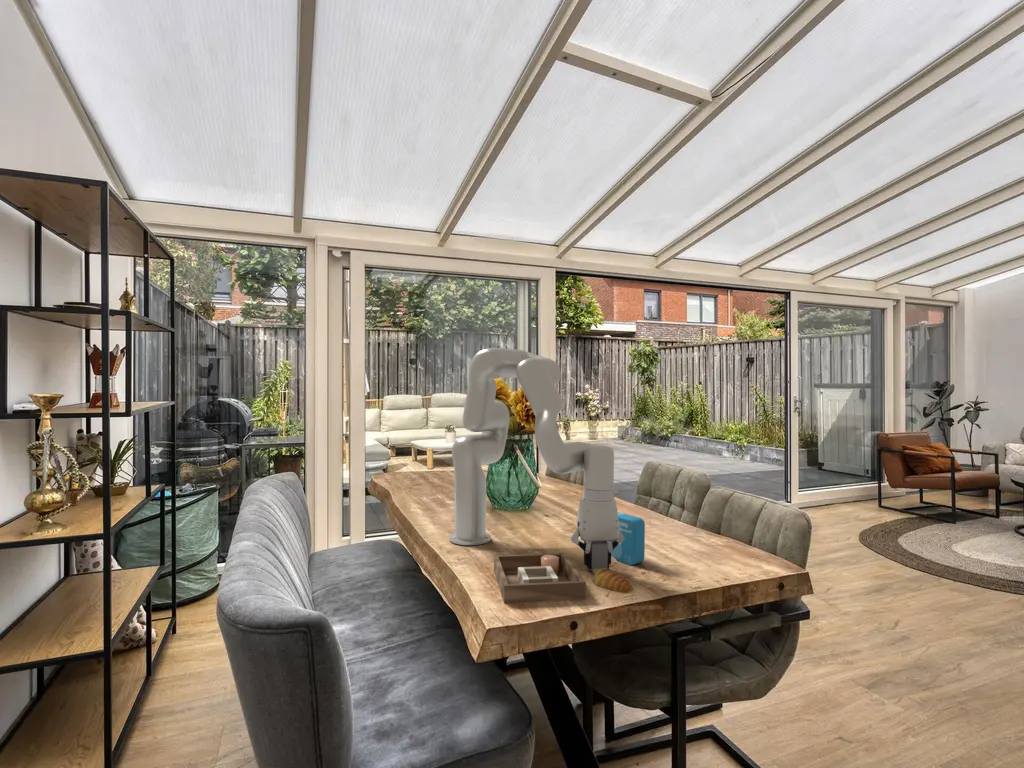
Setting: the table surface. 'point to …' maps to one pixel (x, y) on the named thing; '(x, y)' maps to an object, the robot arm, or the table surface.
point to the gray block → (599, 555)
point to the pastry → (612, 581)
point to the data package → (630, 540)
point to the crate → (537, 579)
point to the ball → (551, 562)
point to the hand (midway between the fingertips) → (597, 566)
